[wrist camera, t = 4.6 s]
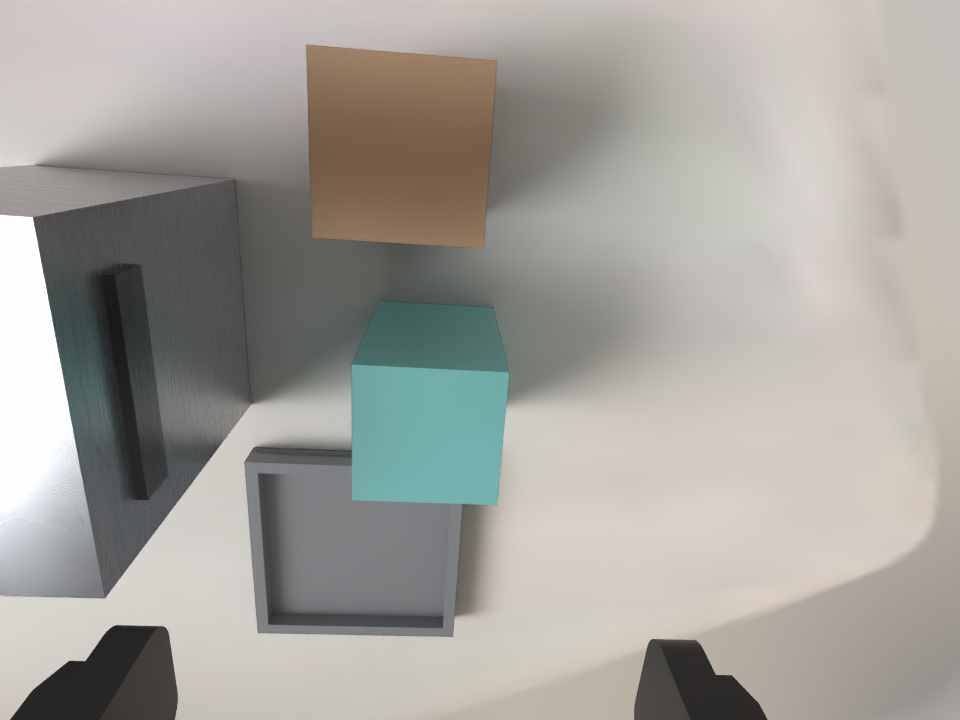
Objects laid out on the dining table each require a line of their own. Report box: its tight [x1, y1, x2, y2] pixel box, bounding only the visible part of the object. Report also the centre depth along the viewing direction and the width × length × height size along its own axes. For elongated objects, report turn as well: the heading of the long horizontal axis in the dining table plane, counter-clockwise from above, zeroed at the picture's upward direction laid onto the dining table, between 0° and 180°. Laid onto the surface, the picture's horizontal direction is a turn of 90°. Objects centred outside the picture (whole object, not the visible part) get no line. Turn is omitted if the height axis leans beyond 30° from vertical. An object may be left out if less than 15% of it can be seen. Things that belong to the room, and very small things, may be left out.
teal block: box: [351, 301, 509, 505], centre depth 21 cm, size 4×4×7 cm
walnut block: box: [306, 45, 497, 248], centre depth 18 cm, size 4×4×7 cm
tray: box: [244, 448, 462, 637], centre depth 27 cm, size 9×9×1 cm
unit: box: [0, 165, 251, 598], centre depth 18 cm, size 9×8×11 cm
